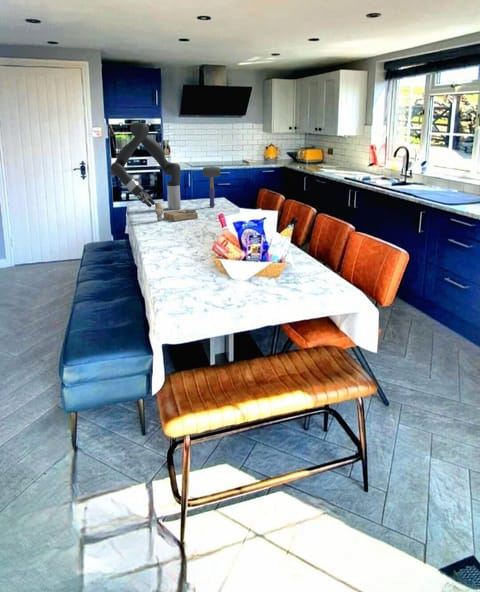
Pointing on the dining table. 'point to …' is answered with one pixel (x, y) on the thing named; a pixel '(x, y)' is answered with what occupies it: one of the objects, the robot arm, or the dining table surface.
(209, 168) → the rubber mallet
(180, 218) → the subfloor panel
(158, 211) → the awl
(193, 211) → the stud finder
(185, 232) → the dining table surface
